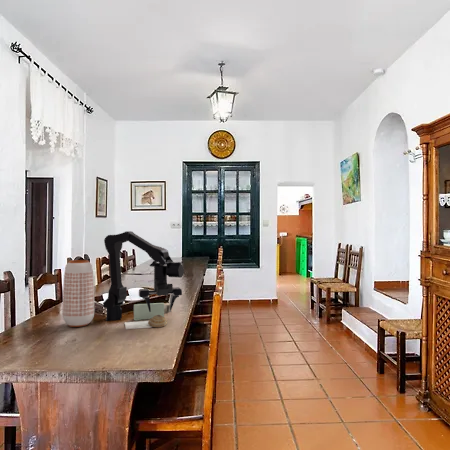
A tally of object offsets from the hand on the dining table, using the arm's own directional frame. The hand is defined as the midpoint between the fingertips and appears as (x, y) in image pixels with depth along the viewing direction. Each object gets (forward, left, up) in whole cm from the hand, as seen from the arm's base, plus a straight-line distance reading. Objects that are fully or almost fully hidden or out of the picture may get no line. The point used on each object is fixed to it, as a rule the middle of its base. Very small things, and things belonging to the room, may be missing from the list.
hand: (160, 311), depth 174 cm
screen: (-4, +9, -5) cm, 11 cm away
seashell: (0, 0, -5) cm, 5 cm away
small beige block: (+6, +22, -5) cm, 23 cm away
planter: (-35, +8, -6) cm, 36 cm away
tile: (-10, -1, -5) cm, 11 cm away
